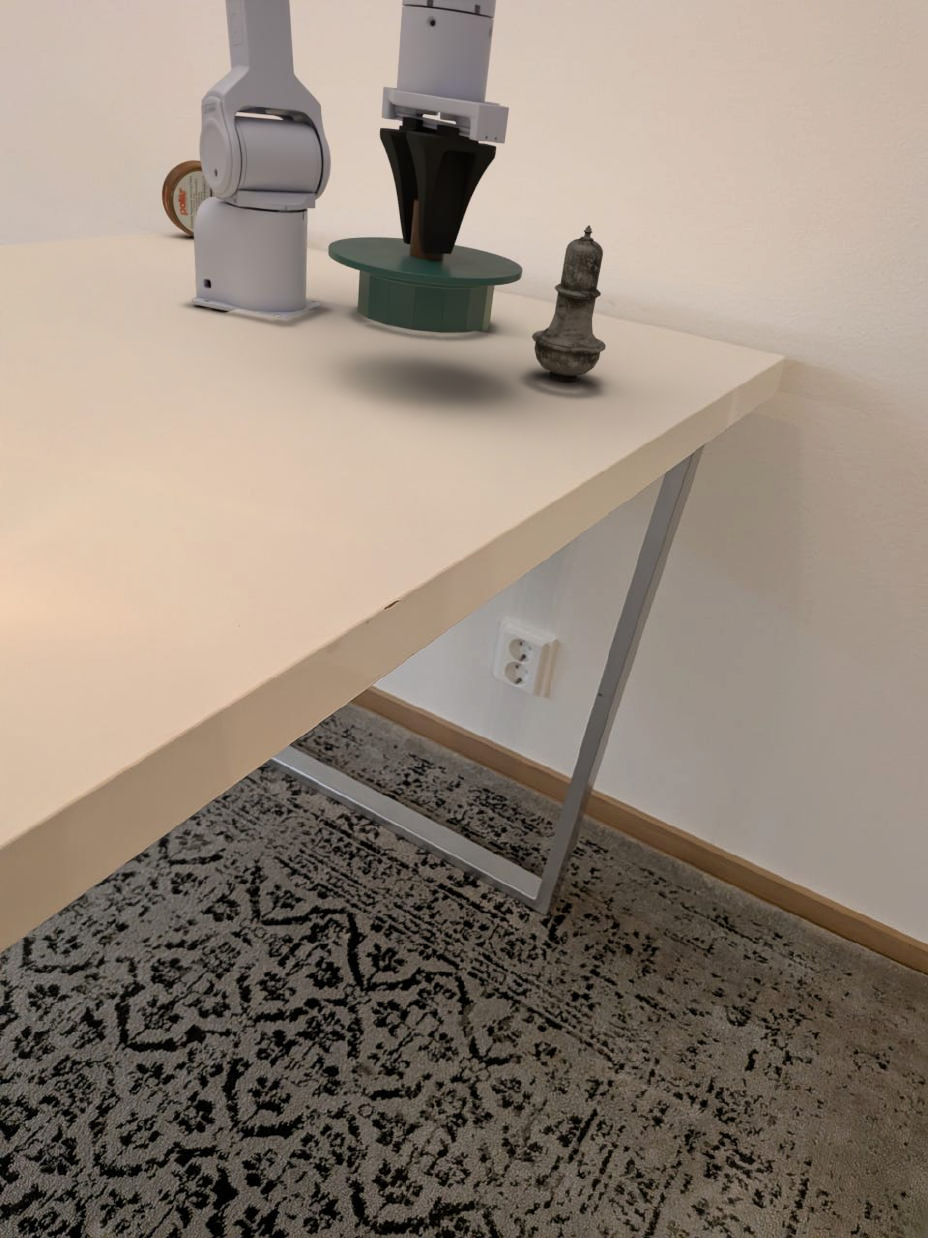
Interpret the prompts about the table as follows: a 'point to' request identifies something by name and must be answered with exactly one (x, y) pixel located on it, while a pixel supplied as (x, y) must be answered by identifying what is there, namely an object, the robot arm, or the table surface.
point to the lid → (424, 262)
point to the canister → (424, 306)
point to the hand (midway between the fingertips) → (427, 248)
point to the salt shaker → (573, 315)
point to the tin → (185, 194)
